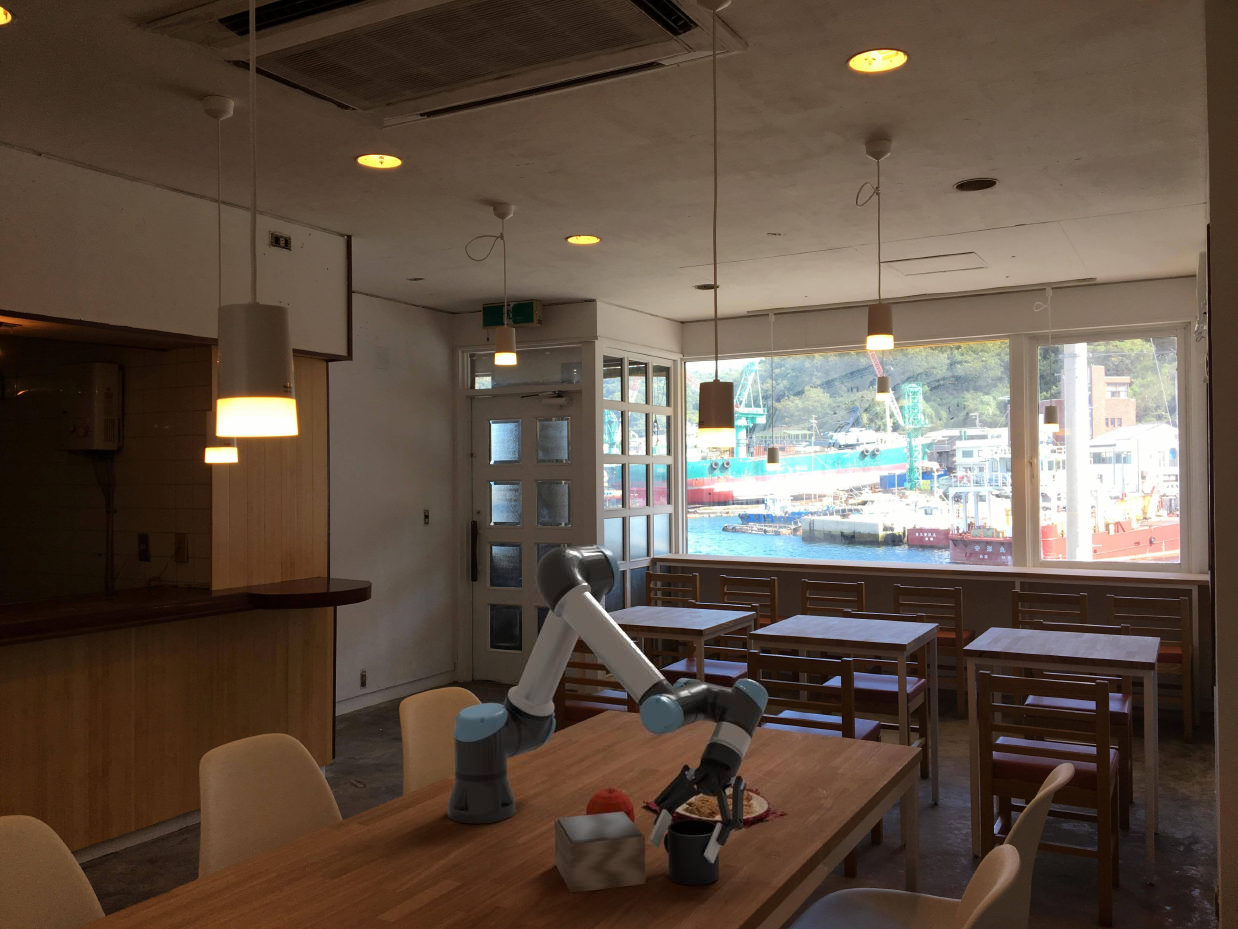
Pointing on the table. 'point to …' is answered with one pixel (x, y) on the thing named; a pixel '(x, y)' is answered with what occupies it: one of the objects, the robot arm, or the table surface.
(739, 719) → the robot arm
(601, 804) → the apple
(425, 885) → the table surface
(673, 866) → the mug
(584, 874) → the grey square box
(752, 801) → the plate with food
